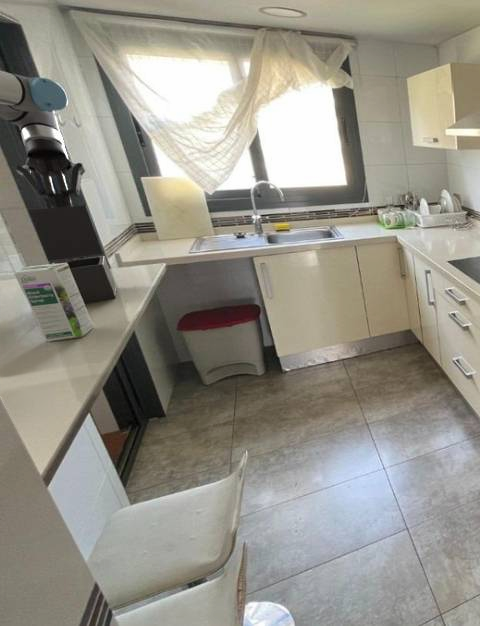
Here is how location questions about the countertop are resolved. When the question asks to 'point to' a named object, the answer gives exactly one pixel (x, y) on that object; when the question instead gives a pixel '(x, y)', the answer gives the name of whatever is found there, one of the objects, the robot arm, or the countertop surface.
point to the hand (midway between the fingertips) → (64, 216)
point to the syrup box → (55, 301)
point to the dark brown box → (92, 278)
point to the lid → (66, 232)
